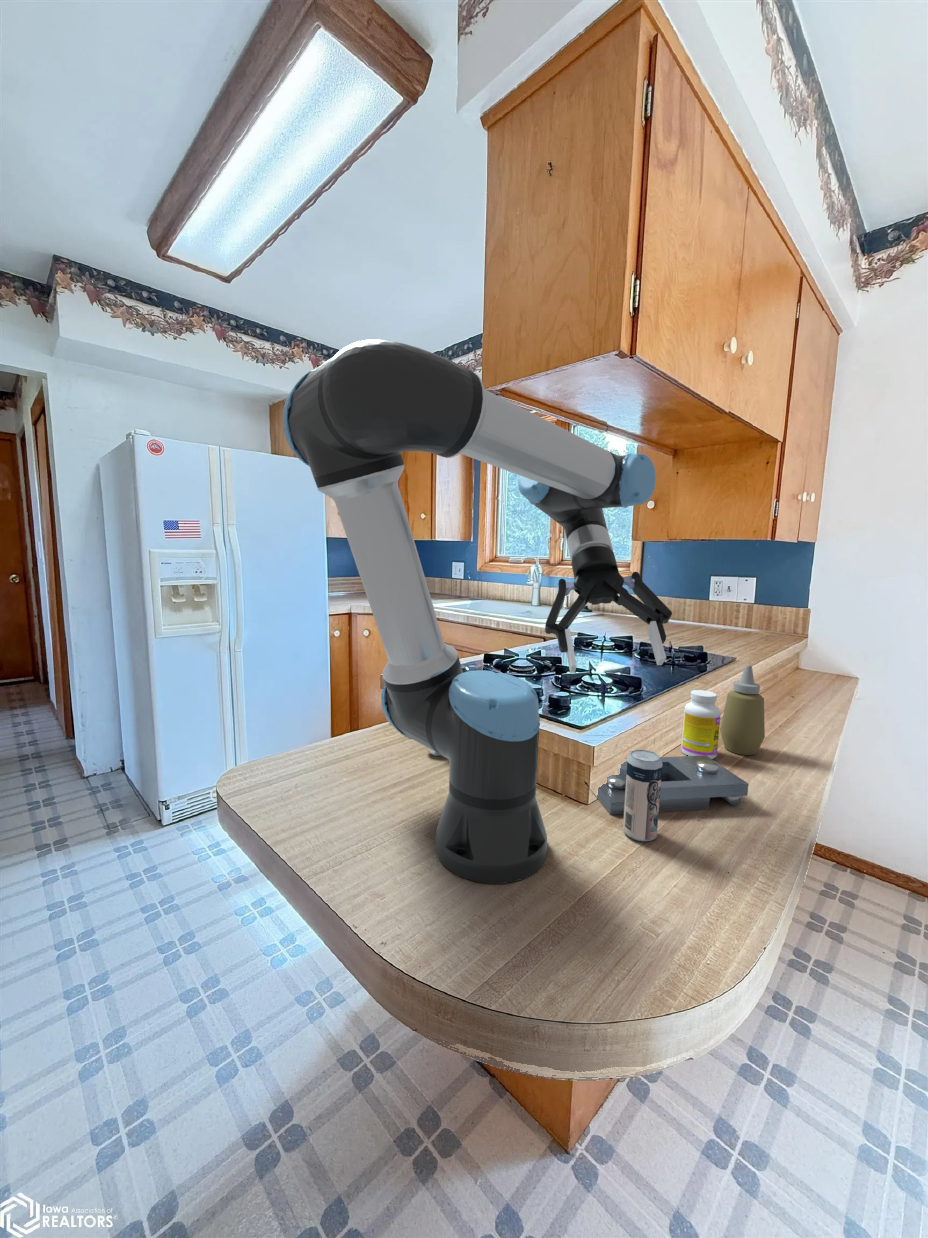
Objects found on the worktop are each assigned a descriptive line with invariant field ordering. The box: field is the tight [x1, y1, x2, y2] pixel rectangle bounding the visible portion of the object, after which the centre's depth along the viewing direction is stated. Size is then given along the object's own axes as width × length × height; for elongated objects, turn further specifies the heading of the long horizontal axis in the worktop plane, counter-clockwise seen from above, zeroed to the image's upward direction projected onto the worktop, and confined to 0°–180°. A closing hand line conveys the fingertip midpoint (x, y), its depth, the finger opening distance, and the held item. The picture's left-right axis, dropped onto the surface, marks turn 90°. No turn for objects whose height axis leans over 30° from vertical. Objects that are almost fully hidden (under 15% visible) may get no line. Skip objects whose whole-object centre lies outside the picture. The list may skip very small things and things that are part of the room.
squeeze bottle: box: [719, 665, 766, 756], centre depth 100 cm, size 8×8×18 cm
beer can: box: [622, 749, 663, 842], centre depth 69 cm, size 5×5×12 cm
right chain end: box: [619, 755, 749, 807], centre depth 82 cm, size 18×11×5 cm, turn 97°
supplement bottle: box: [680, 689, 722, 760], centre depth 98 cm, size 7×7×13 cm
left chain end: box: [596, 773, 711, 815], centre depth 81 cm, size 16×11×3 cm, turn 97°
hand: (617, 665), depth 75 cm, fingers open, 13 cm apart
